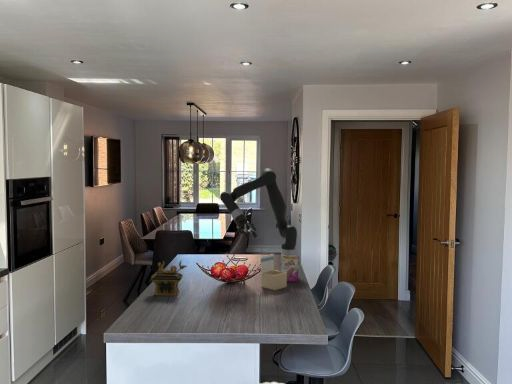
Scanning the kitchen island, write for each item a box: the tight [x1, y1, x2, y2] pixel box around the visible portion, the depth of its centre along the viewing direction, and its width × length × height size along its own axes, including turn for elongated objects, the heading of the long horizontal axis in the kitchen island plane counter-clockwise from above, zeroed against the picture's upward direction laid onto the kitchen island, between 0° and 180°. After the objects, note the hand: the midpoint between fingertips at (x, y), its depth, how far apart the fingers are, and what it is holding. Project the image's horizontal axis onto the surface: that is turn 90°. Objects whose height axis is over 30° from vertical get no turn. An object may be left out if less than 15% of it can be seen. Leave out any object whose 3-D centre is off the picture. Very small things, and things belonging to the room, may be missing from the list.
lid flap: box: [260, 253, 275, 274], centre depth 290 cm, size 12×10×1 cm
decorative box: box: [150, 260, 188, 297], centre depth 267 cm, size 20×10×20 cm, turn 91°
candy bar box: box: [280, 254, 300, 283], centre depth 304 cm, size 11×5×16 cm, turn 84°
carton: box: [261, 269, 288, 291], centre depth 287 cm, size 12×10×9 cm
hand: (252, 237), depth 297 cm, fingers open, 6 cm apart
